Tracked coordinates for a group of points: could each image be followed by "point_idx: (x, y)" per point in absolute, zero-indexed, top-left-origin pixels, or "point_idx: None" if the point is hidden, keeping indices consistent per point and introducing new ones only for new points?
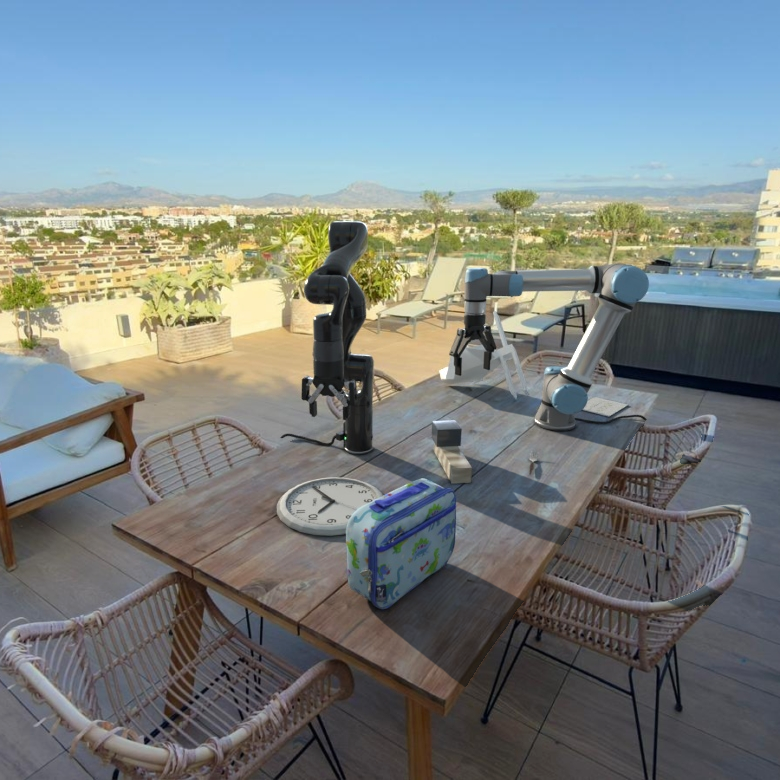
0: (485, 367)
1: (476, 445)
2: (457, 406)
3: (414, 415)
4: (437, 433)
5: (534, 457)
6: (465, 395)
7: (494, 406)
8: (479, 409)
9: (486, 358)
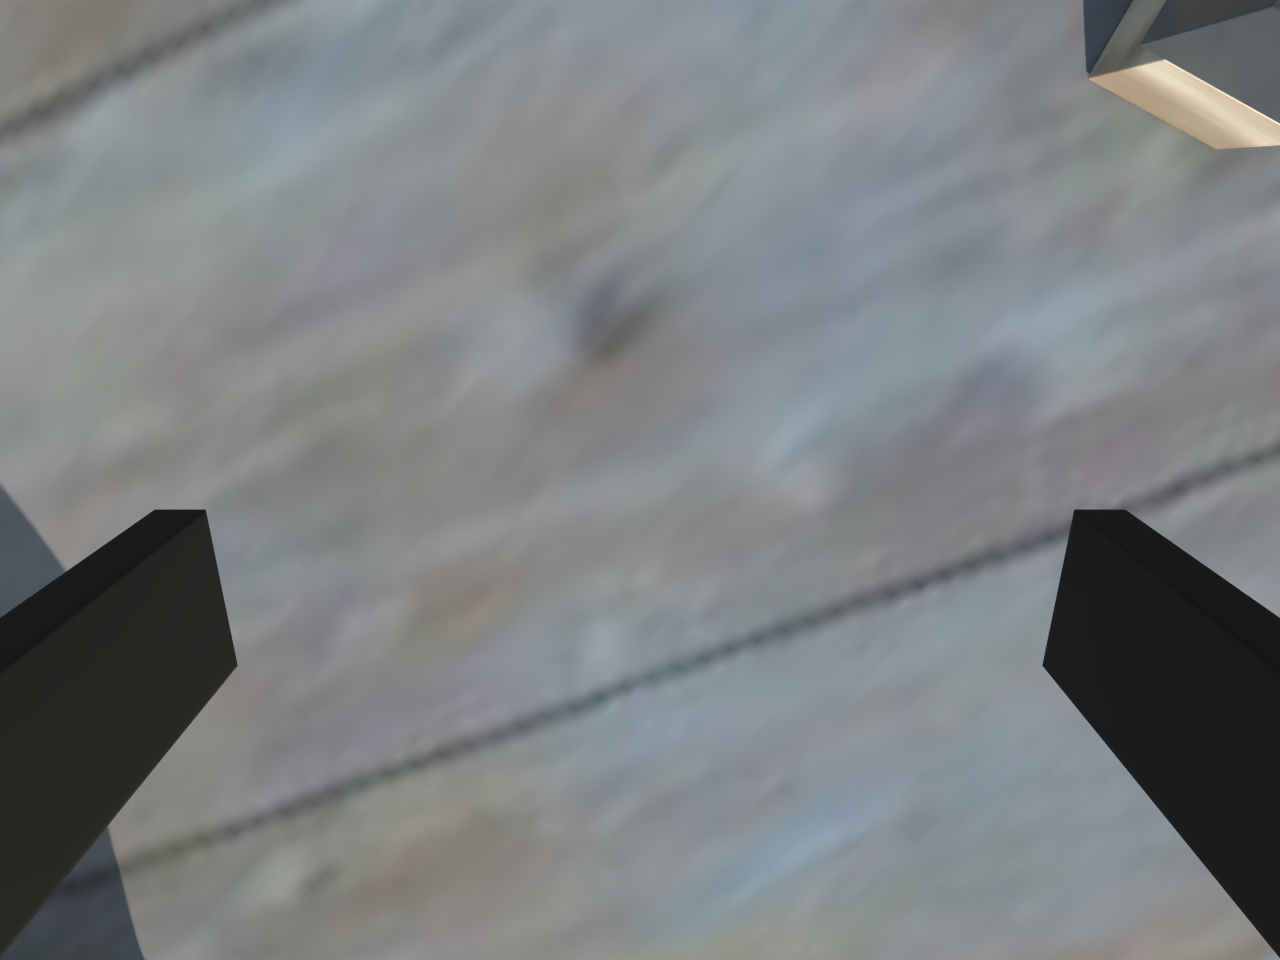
0: (201, 627)
1: (809, 39)
2: (357, 801)
3: (783, 810)
4: None
5: None
6: (151, 939)
7: None
8: None
9: (34, 771)
